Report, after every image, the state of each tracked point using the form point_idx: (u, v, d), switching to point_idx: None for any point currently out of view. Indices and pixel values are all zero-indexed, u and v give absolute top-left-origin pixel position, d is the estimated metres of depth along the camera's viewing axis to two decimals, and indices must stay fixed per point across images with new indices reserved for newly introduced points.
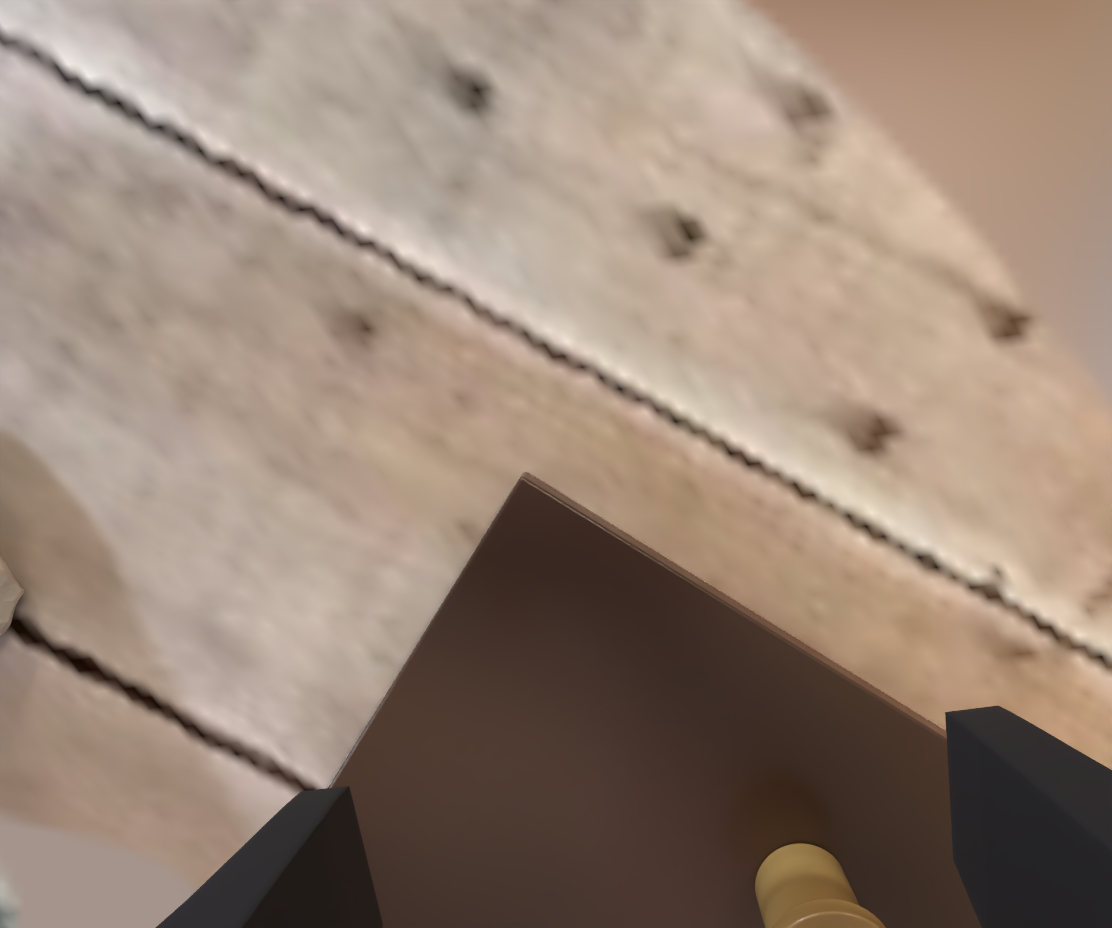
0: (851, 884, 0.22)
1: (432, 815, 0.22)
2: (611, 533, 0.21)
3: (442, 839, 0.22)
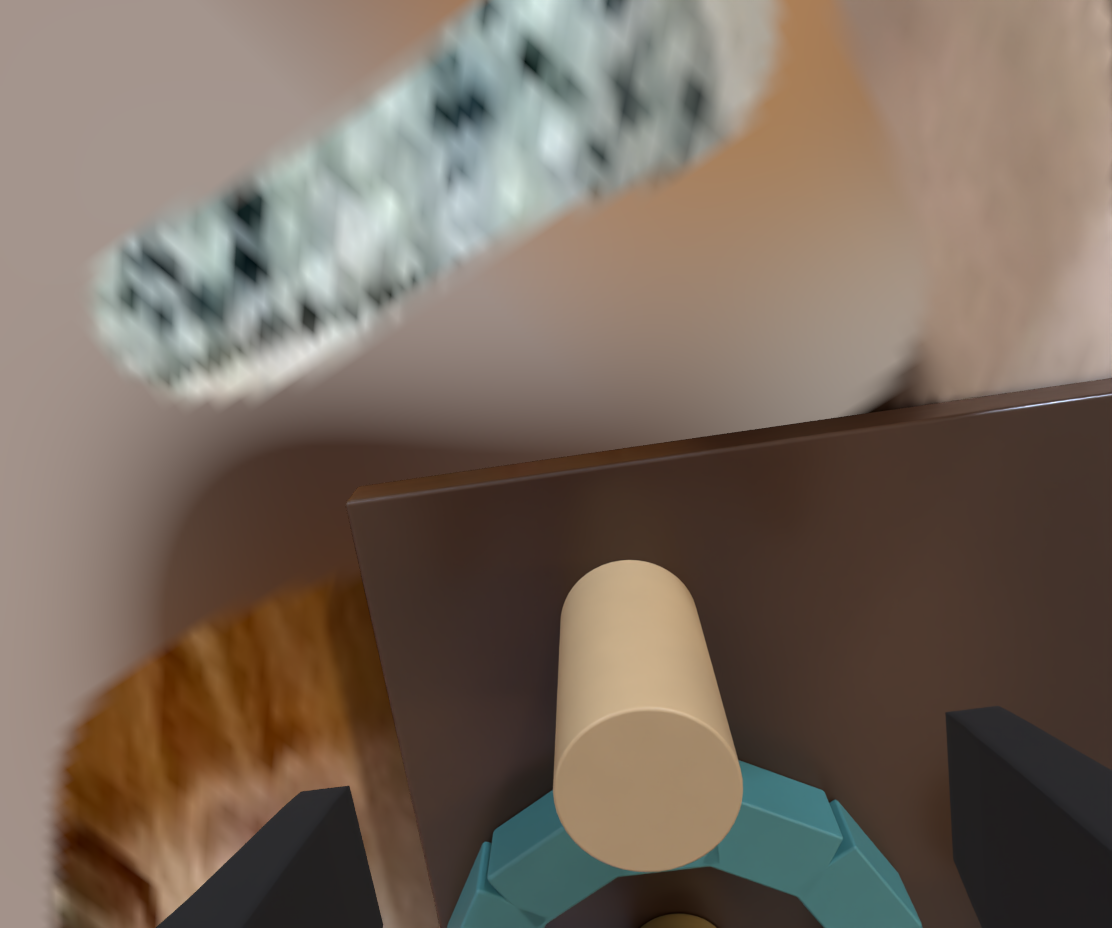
0: None
1: None
2: None
3: None
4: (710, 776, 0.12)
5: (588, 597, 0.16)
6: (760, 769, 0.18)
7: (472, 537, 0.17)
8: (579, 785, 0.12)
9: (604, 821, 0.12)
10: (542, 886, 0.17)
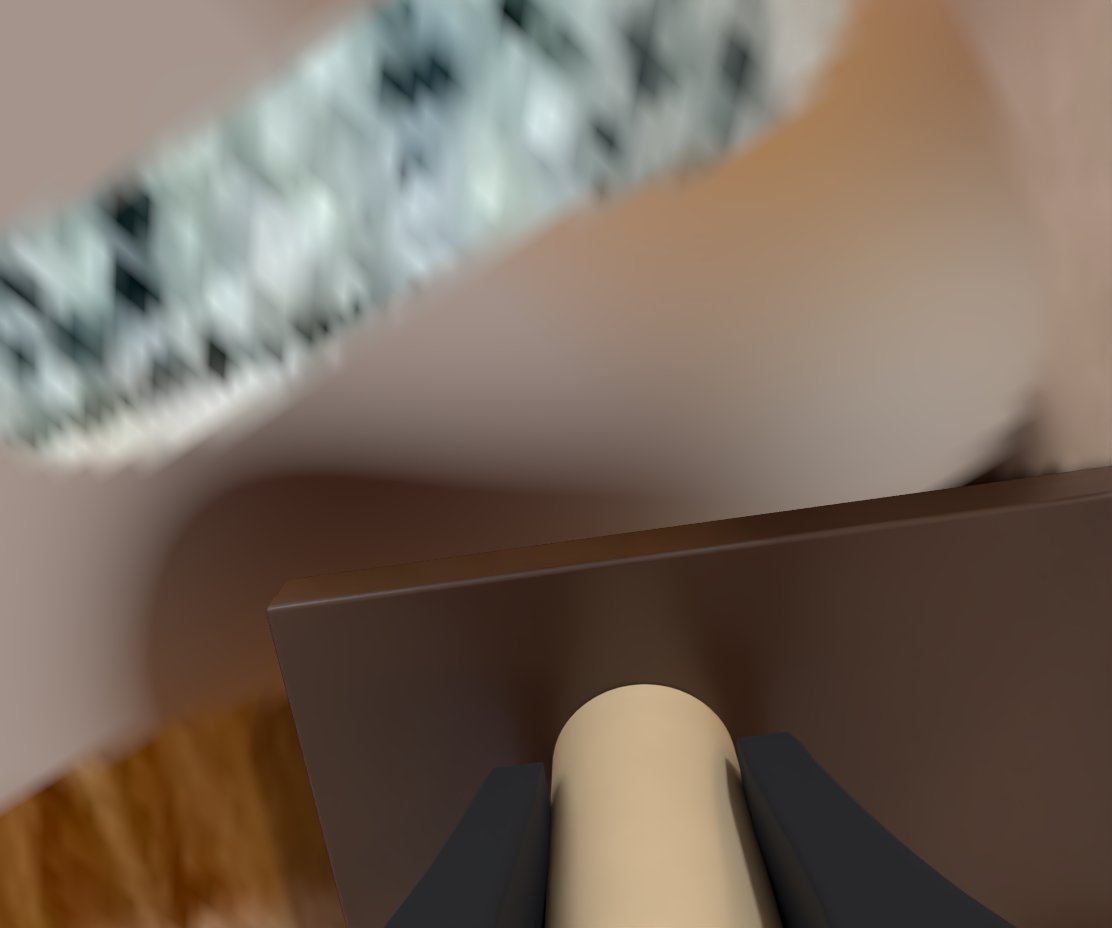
0: None
1: None
2: None
3: None
4: None
5: (589, 746, 0.12)
6: None
7: (436, 654, 0.12)
8: None
9: None
10: None
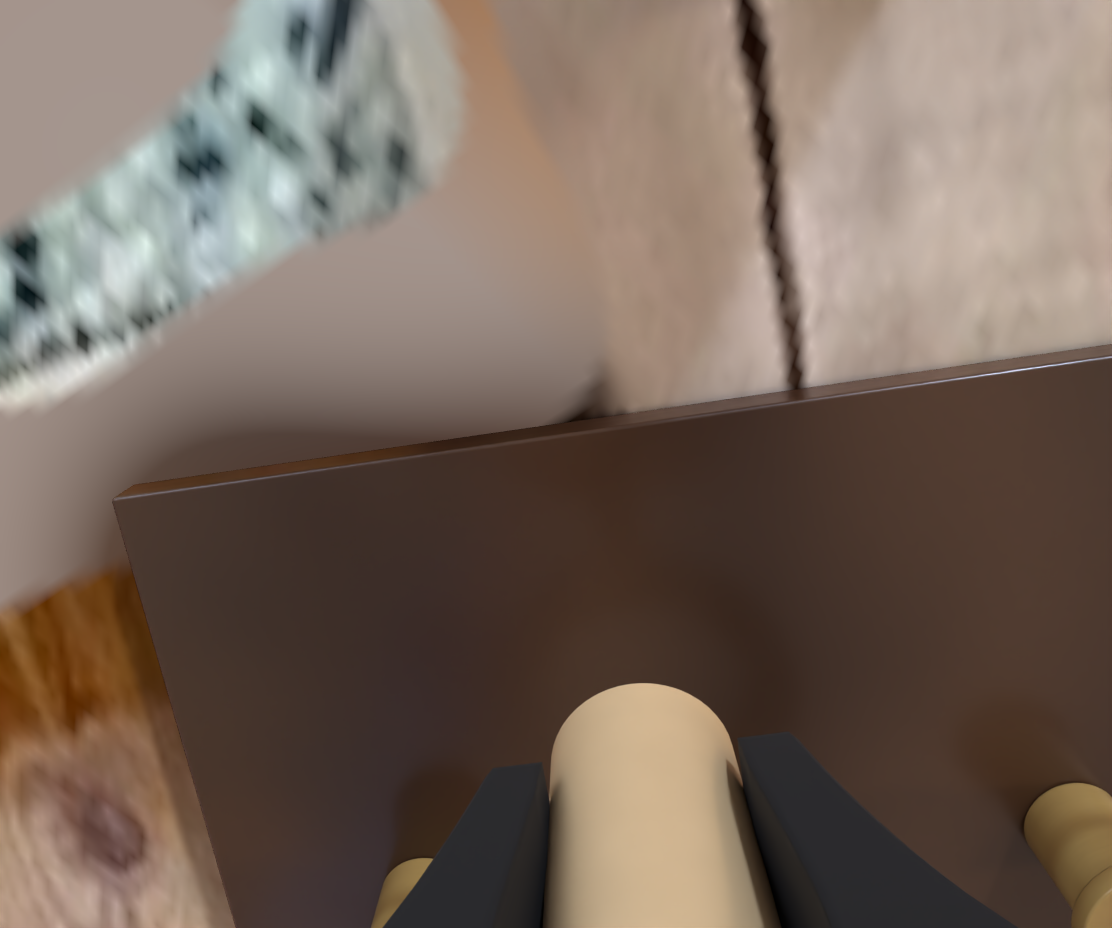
0: None
1: (902, 502, 0.19)
2: None
3: (885, 527, 0.19)
4: None
5: (588, 745, 0.12)
6: None
7: (221, 529, 0.20)
8: None
9: None
10: None
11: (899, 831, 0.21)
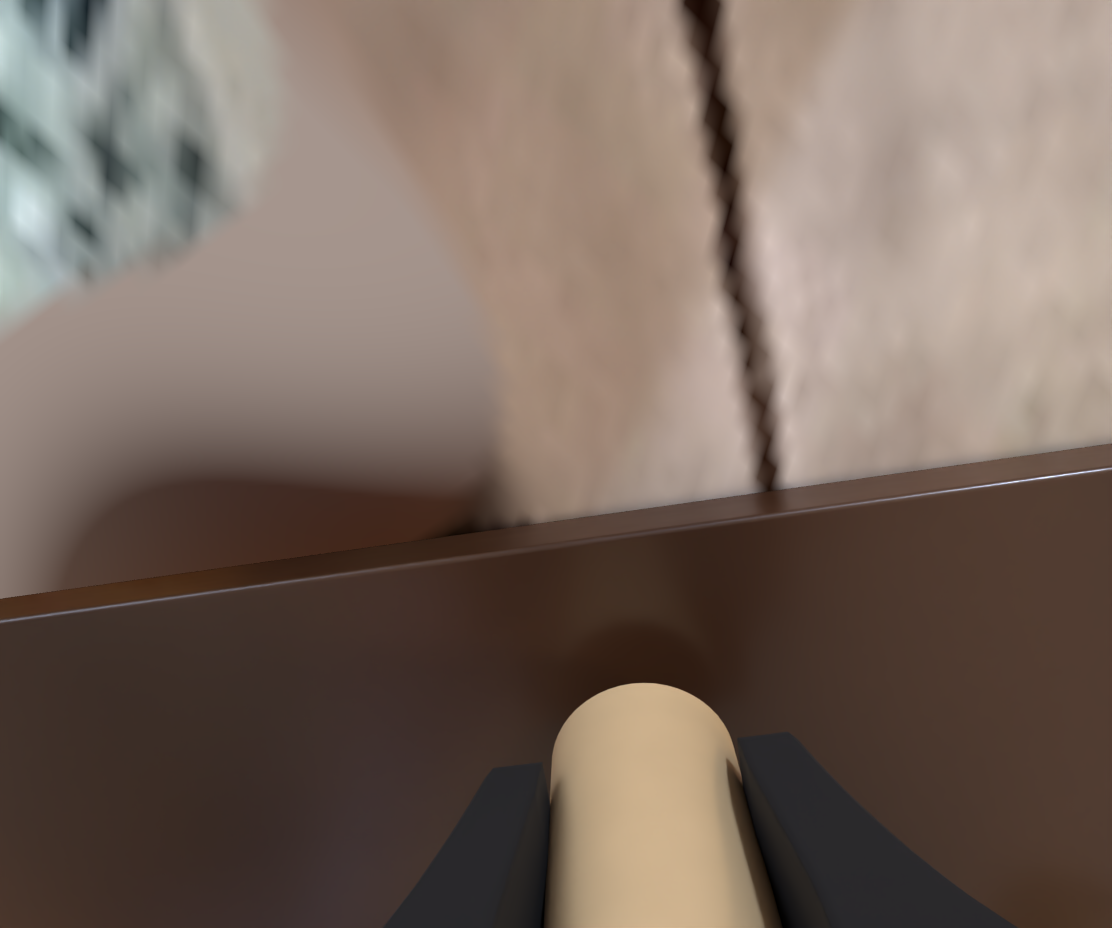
0: None
1: (919, 654, 0.13)
2: None
3: (895, 688, 0.13)
4: None
5: (589, 744, 0.12)
6: None
7: None
8: None
9: None
10: None
11: None
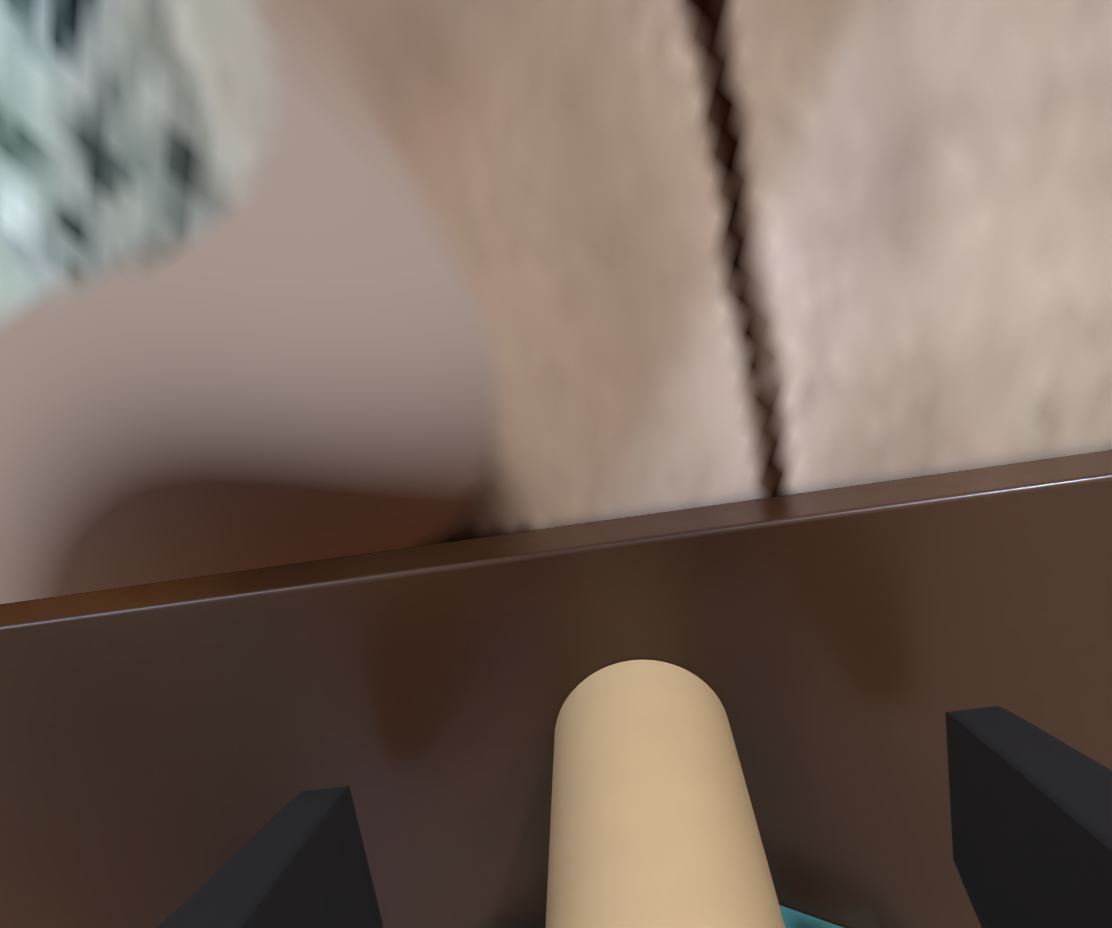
0: None
1: (928, 664, 0.13)
2: None
3: (903, 698, 0.13)
4: None
5: (589, 716, 0.12)
6: (807, 917, 0.14)
7: None
8: None
9: None
10: None
11: None
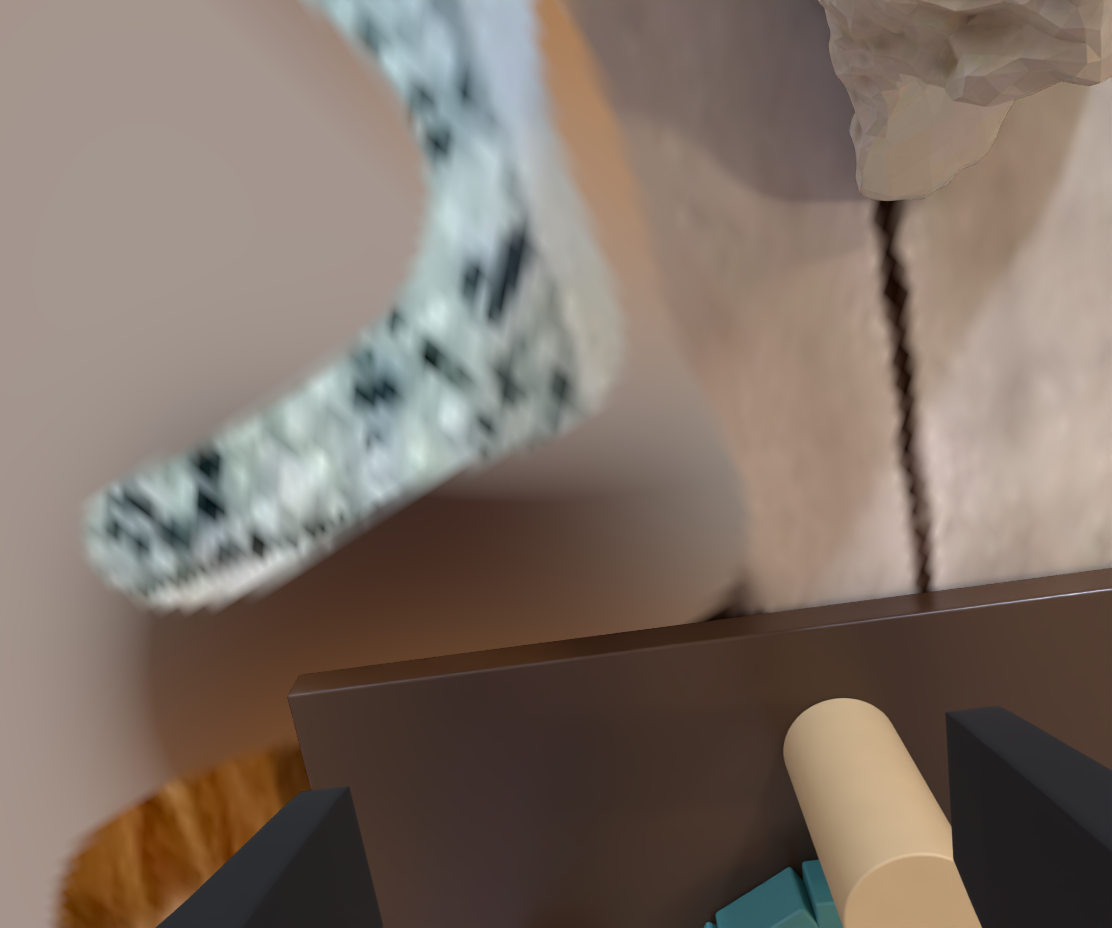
0: None
1: (1026, 701, 0.20)
2: None
3: None
4: (966, 904, 0.16)
5: (820, 735, 0.20)
6: None
7: (389, 722, 0.21)
8: (864, 910, 0.16)
9: None
10: None
11: None
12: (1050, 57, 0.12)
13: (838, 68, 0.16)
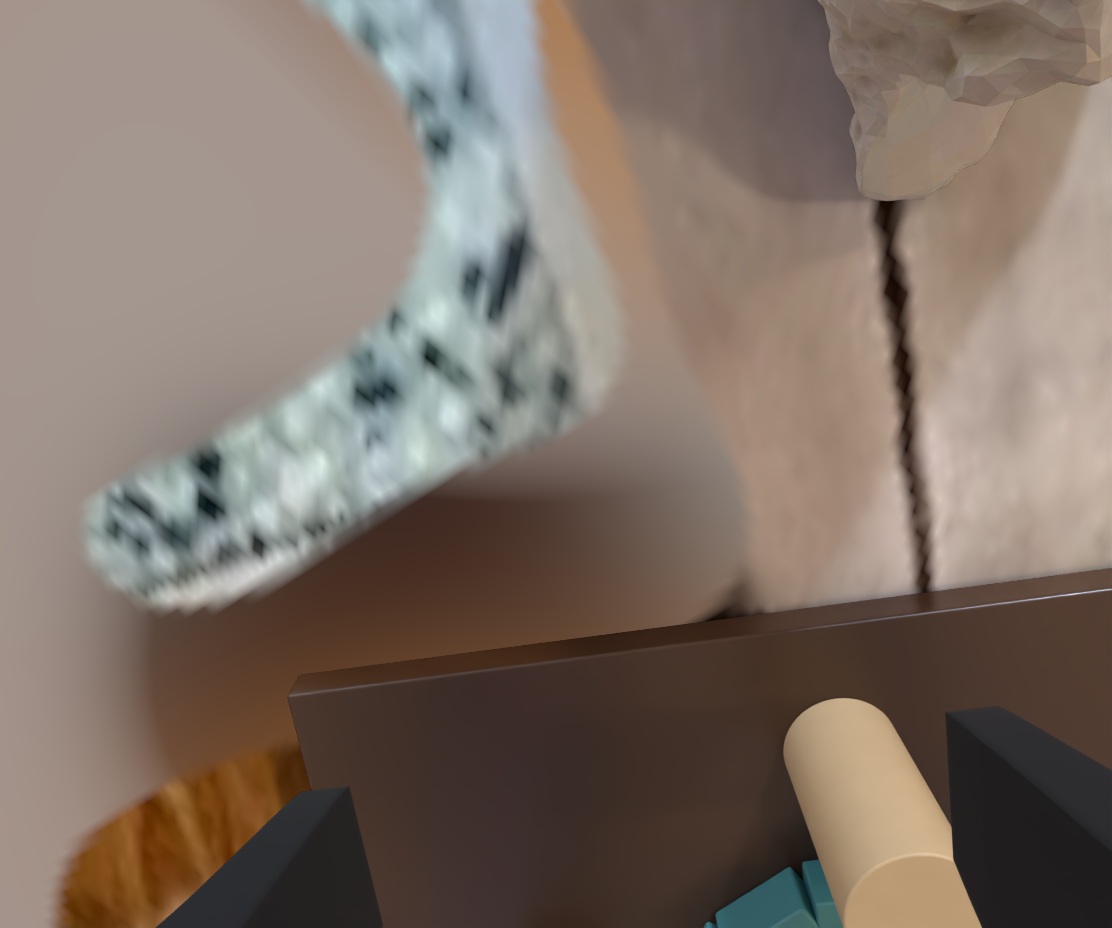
0: None
1: (1026, 701, 0.20)
2: None
3: None
4: (966, 904, 0.16)
5: (820, 735, 0.20)
6: None
7: (389, 722, 0.21)
8: (864, 910, 0.16)
9: None
10: None
11: None
12: (1050, 57, 0.12)
13: (838, 68, 0.16)
